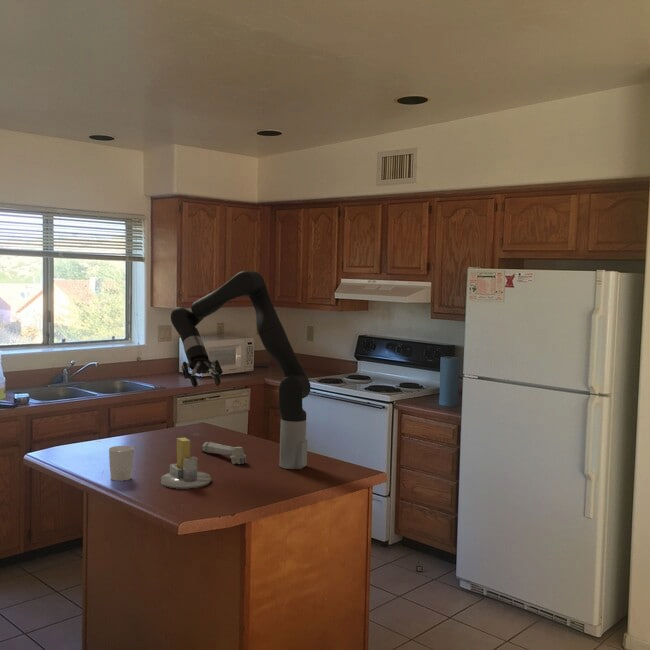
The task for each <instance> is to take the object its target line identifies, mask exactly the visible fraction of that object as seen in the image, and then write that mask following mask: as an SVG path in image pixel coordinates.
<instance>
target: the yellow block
mask: <svg viewBox="0 0 650 650" xmlns="http://www.w3.org/2000/svg"><path fill="white" fill-rule="evenodd" d="M185 457H191V440H190V439H188V438H187V437H176V464H177V468H179V469H183V462H184V458H185Z"/></svg>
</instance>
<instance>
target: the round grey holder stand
mask: <svg viewBox="0 0 650 650" xmlns="http://www.w3.org/2000/svg"><path fill="white" fill-rule="evenodd" d="M211 481H212V477H211V474H209V473H207V472H204V471H198V457H197V456H190V457H185V458H184V462H183V469H179V468H177V463H171V464H169V472H168V473H165V474H163V475H162V476H161V477H160V484H161V486H163V487H165V488H168V487H169V489H173V488H176V489H175V490H190V489H189V488H195V489H199V488H198V487H201V488H204V487H206V485H207V486H208V484H209V483H210V482H211ZM210 484H211V483H210ZM210 484H209V485H210ZM203 486H204V487H203Z"/></svg>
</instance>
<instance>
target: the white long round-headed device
mask: <svg viewBox="0 0 650 650" xmlns="http://www.w3.org/2000/svg"><path fill="white" fill-rule="evenodd" d="M200 446H201V447H200V449H201V451H202V452H203V451H204V453H207V454H217V455H218V454H219V455H227V456H230V459H231V460H230V461H231V463H232V464H231V465H236V464H238V465H240V464H241V465H243V464H246V458H247V455H246V454H245V453H244V451H245V450H244V448H243V446H235V447H234V446H230V445H225V444H222V443H221V444H219V443H216V442H213V441H205V442H204V441H203V442H202V444H201V445H200Z"/></svg>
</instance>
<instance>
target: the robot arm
mask: <svg viewBox="0 0 650 650" xmlns="http://www.w3.org/2000/svg"><path fill="white" fill-rule="evenodd" d="M244 296H245V297H248V298H249V299H250V302H251V303H252V305H253V308H254V311H255V316H256V320H255V321H256V330H257V333H258V336H259V339H260V342H261V344H262V345H263V347H264V349H265V350H266V352H267V353H268V354H269V355H270V356H271V358H273V360H274V361H275V362H276V363H277V365H278V366H279V367H280V369H281V371H282V373H283V375H284V377H283V378H282V379H281V381H280V382H279V386H278V387H279V388H278V410H279V413H280V432H279V433H280V435H279V436H280V437H279V460H278V461H279V463H278V464H279V467H280V468H283V469H284V470H285V469H286V470H287V469H288V470H303V469H304V468H306V466H307V465H308V439H306V438H307V411H306V410H304V409H303V399H305V398H307V397H308V396H309V395H310V392H311V387H312V386H311V382H310V380H309V377H308V376H307V374H306V372H305V371H304V369H303V367H302V365H301V363H300V362H299V360H298V358H297V356H296V353H295V351H294V348H293V347H292V345H291V342H290V341H289V339H288V336H287V333H286V331H285V329H284V326H283V324H282V322H281V320H280V318H279V316H278V313H277V311H276V309H275V307H274V305H273V303H272V302H273V301H272V300H271V297H270V295H269V291H268V287H267V284H266V283H265V280H264V278H263V276H262V274H260V273H259V272H258V271H254V270H242V271H239V272H238V273H236V274H235V275H234V276H232V277H231V278H230V279H229V280H228V281H226V282H225V283H224V284H222V285H221V286H219V287H218V288H217V289H215V290H214V291H212V292H210V293H208V294H207V295H204V296H202V297H201V298H199V299H197V300H196V301H193V303H192V304H191V307H190V310H189V309H187V308H184V307H182V306H177V307H174V308H173V309H172V311H171V313H170V322H171V324H172V326H173V327H174V330H176V332H177V333H178V335H179V336H180V339H181V341H182V342H181V343H182V345H183V346H182V347H183V350H184V353H185V355H186V356H185V357H186V359H187V361H183V362H182V364H181V371H182V374H183V377H184V379H186V380H187V379H189V380H190V383H191V385H192V387H194V388H198V385H199V383H198V380H197V377H196V374H198V375H202V374H205V375H206V374H207V375H208V376H211V377H212V378H213V381H214V383H215V386H216V387H219V386H220V384H221V377H222V374H223V369H222V367H221V365H220V362H219V361H218V360H217V359H216V360H215V361H210V359H209V355H208V354H209V353H208V352H207V349H206V346H205V344H204V341H203V339H202V338H201V335H200V332H199V329H198V328H197V325H199V324H200V323H201V322H202V321H203V320H204V318H207V317H208V316H210V315H212V314H214V313H216V312H217V311H219V310H220V309H221V308H222V307H223V306H224V305H225V304H227V303H228V302H230V301H232V300H234V299H237V298H239V297H240V298H241V297H244ZM189 369H191V370H192V371H191V373H190V371H189Z"/></svg>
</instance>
